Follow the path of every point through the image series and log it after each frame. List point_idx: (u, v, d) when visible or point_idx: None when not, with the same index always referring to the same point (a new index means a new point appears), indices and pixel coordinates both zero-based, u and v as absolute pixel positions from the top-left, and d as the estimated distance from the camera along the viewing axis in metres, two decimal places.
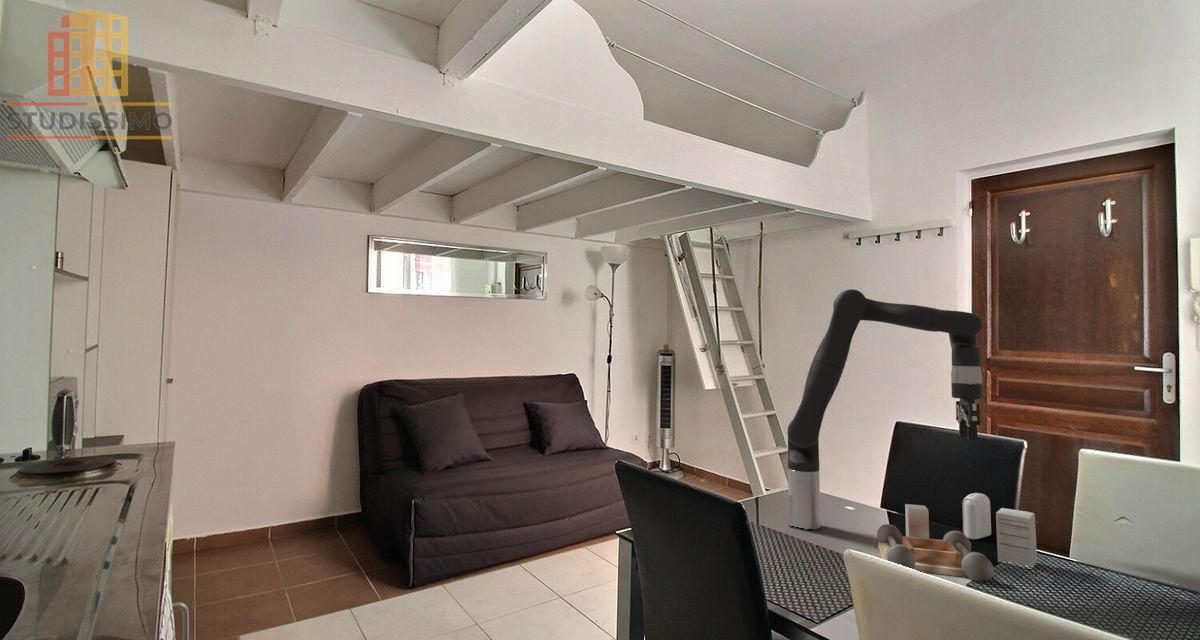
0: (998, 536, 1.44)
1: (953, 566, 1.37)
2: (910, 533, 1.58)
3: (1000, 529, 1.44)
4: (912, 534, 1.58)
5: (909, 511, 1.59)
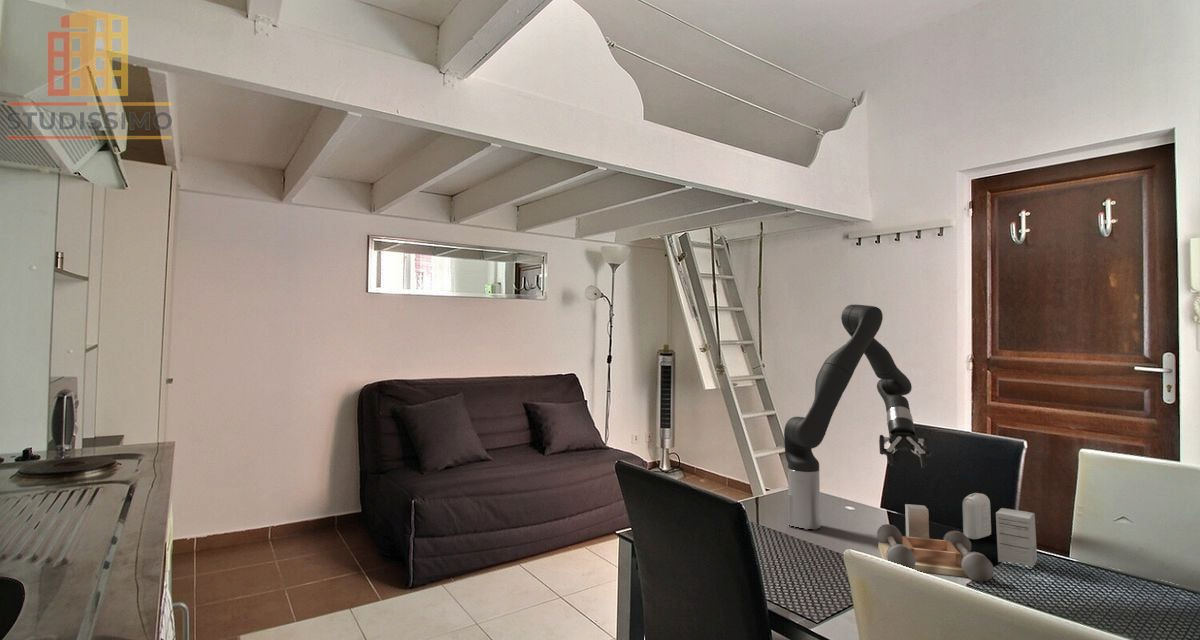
0: (998, 536, 1.44)
1: (953, 566, 1.37)
2: (910, 533, 1.58)
3: (1000, 529, 1.44)
4: (912, 534, 1.58)
5: (909, 511, 1.59)
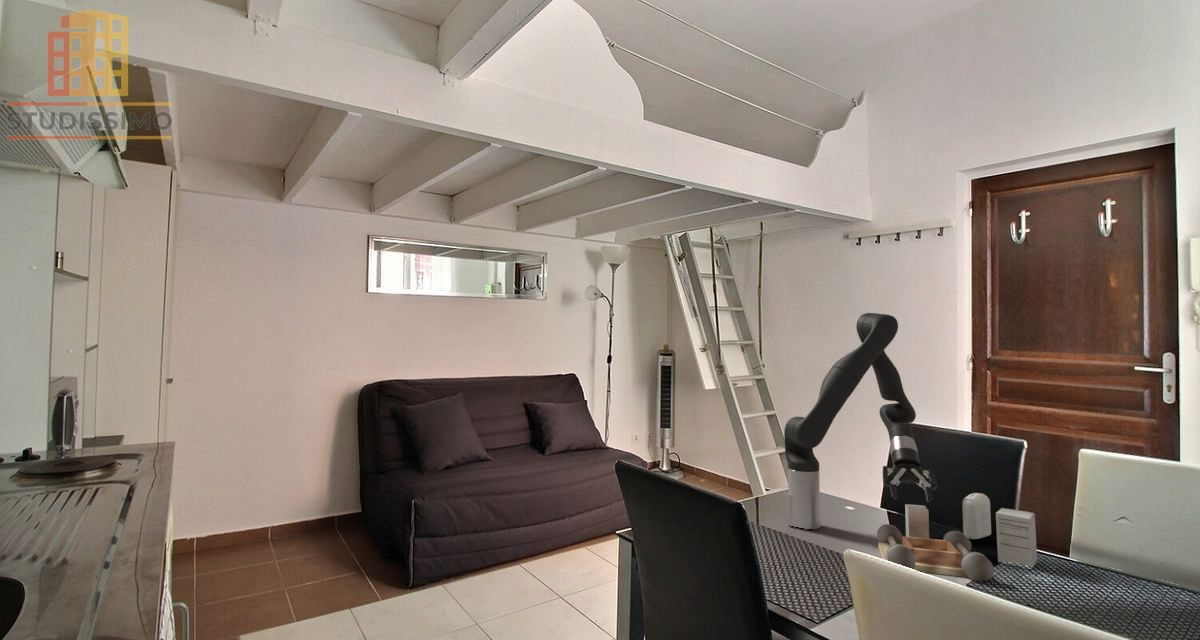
0: (998, 536, 1.44)
1: (953, 566, 1.37)
2: (910, 533, 1.58)
3: (1000, 529, 1.44)
4: (912, 534, 1.58)
5: (909, 511, 1.59)
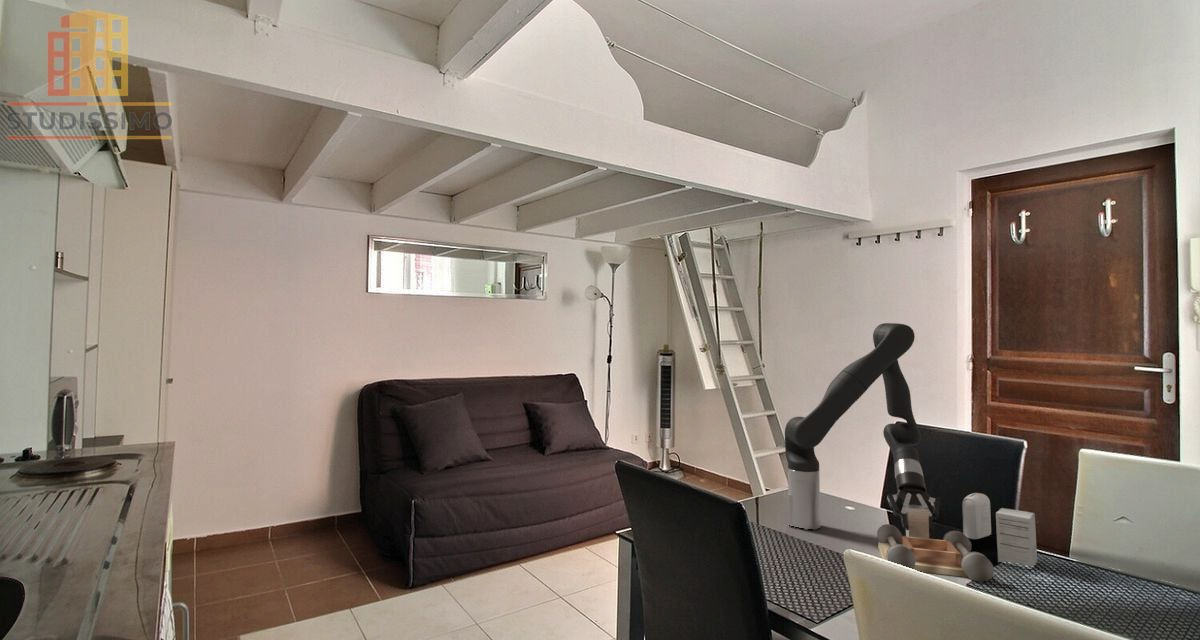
0: (998, 536, 1.44)
1: (953, 566, 1.37)
2: (910, 533, 1.58)
3: (1000, 529, 1.44)
4: (912, 534, 1.58)
5: (909, 511, 1.59)
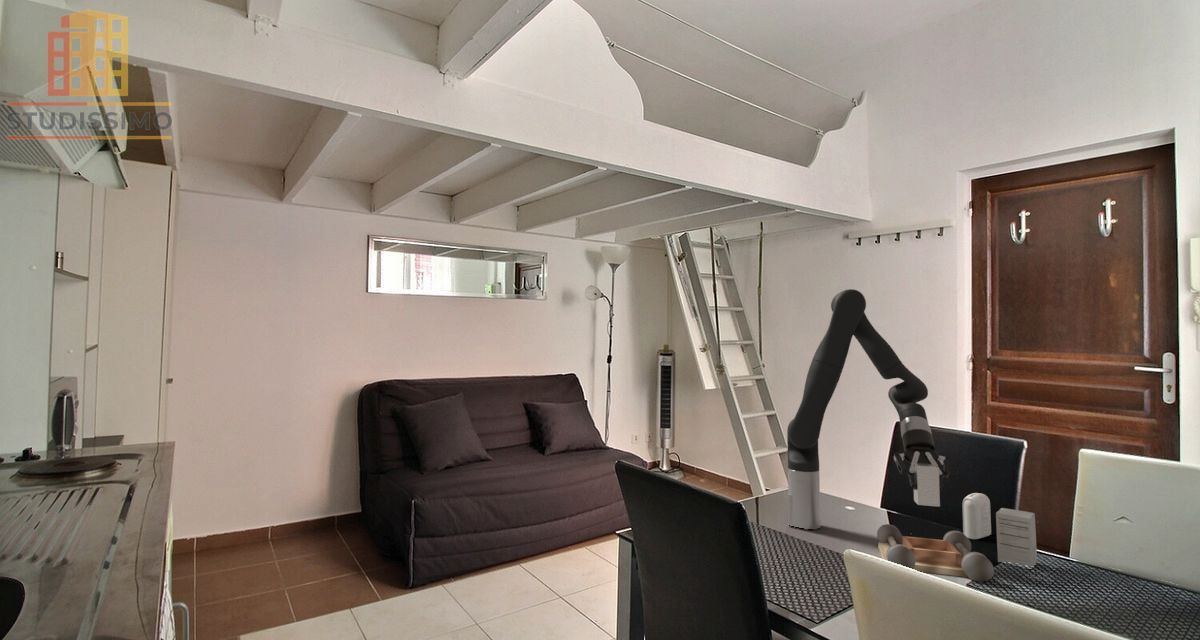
0: (998, 536, 1.44)
1: (953, 566, 1.37)
2: (919, 492, 1.47)
3: (1000, 529, 1.44)
4: (921, 493, 1.47)
5: (918, 469, 1.48)
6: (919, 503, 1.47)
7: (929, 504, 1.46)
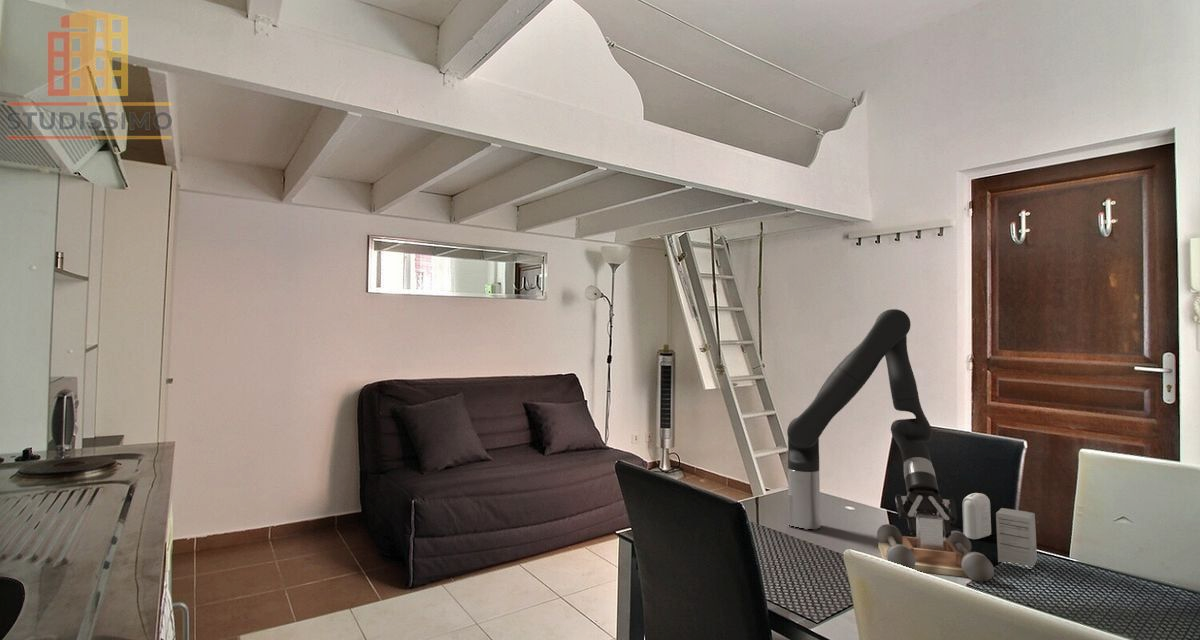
0: (998, 536, 1.44)
1: (953, 566, 1.37)
2: (922, 546, 1.42)
3: (1000, 529, 1.44)
4: (924, 547, 1.42)
5: (921, 521, 1.43)
6: None
7: None
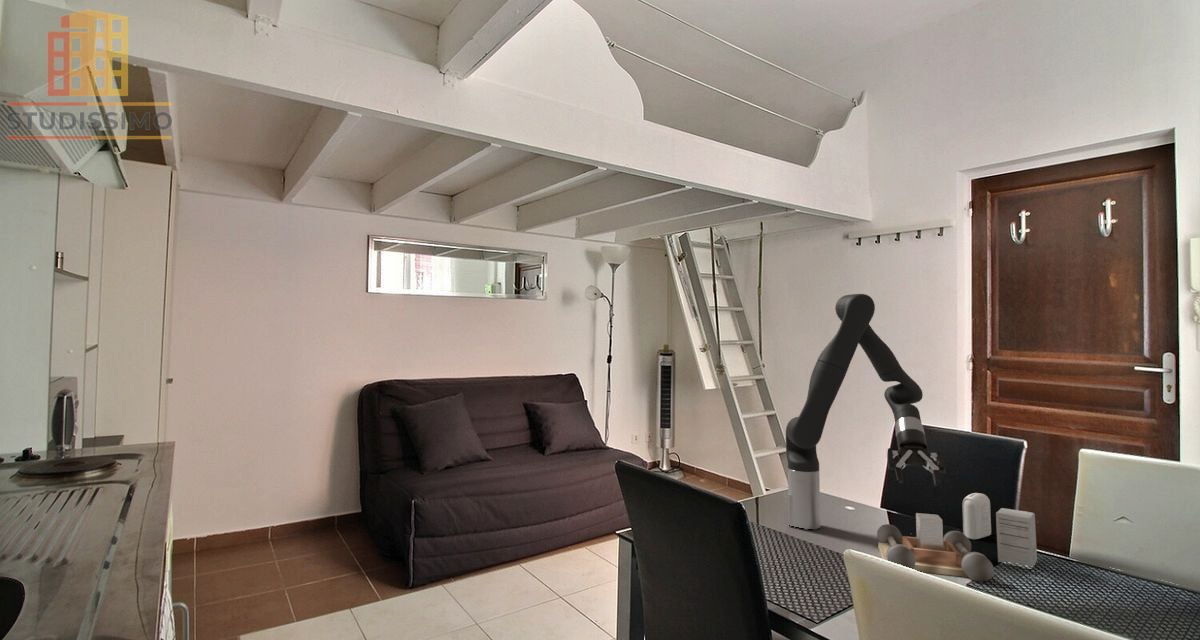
0: (998, 536, 1.44)
1: (953, 566, 1.37)
2: (922, 546, 1.42)
3: (1000, 529, 1.44)
4: (924, 547, 1.42)
5: (921, 521, 1.43)
6: None
7: None
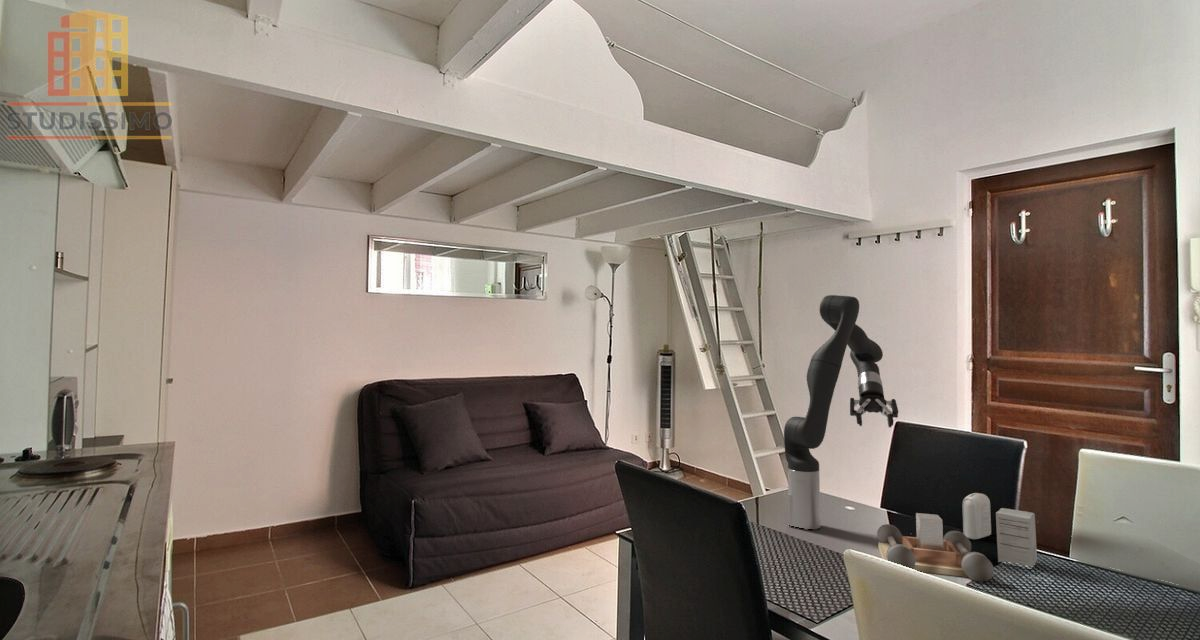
0: (998, 536, 1.44)
1: (953, 566, 1.37)
2: (922, 546, 1.42)
3: (1000, 529, 1.44)
4: (924, 547, 1.42)
5: (921, 521, 1.43)
6: None
7: None
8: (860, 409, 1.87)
